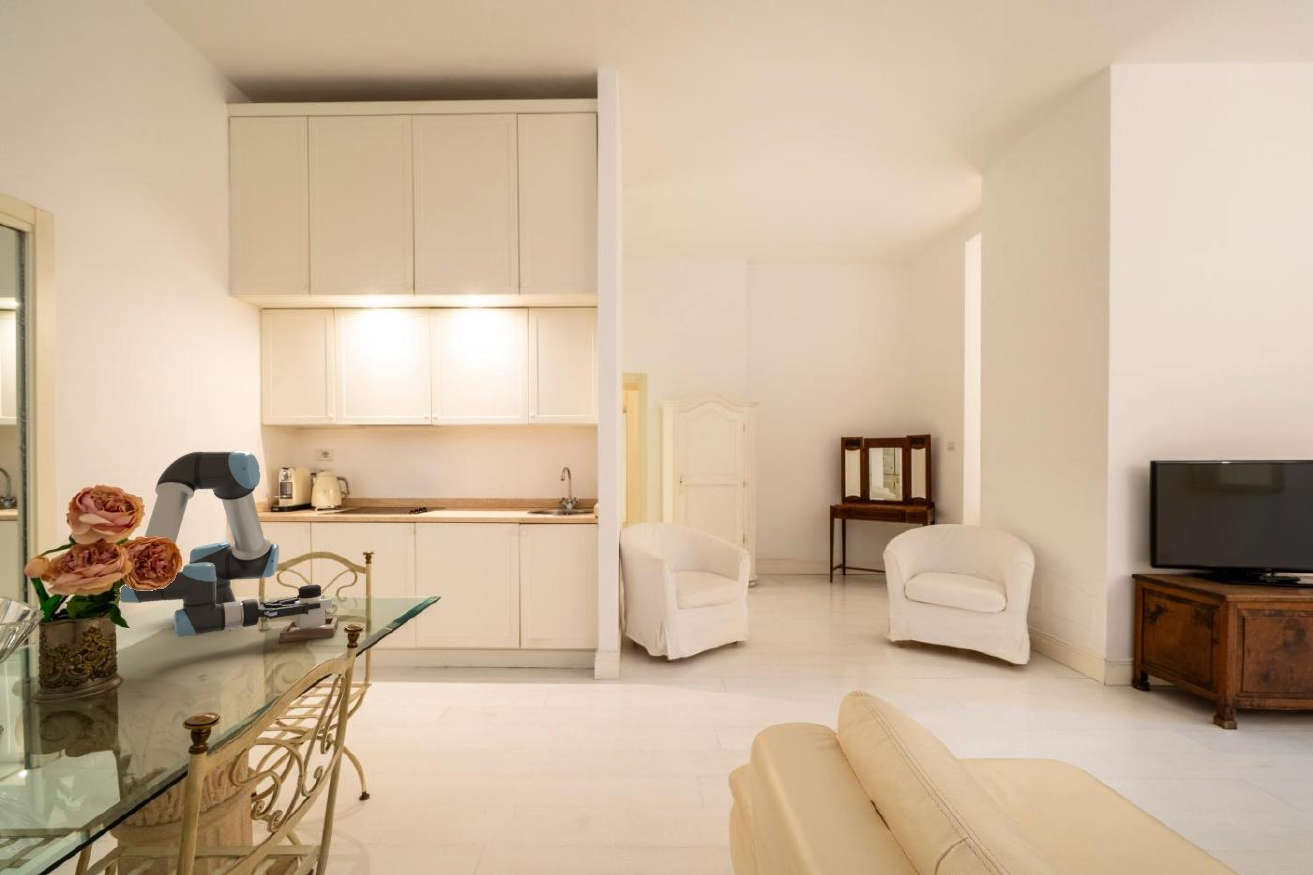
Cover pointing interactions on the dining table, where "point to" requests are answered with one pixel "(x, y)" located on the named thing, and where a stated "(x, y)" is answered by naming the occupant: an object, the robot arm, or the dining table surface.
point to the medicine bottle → (313, 617)
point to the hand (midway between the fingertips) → (327, 600)
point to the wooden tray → (308, 631)
